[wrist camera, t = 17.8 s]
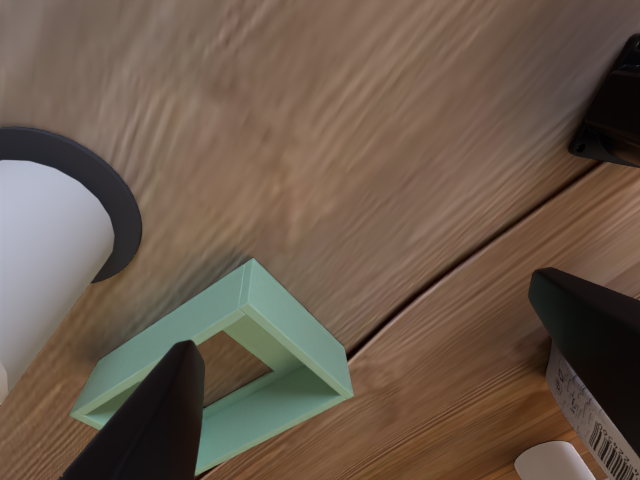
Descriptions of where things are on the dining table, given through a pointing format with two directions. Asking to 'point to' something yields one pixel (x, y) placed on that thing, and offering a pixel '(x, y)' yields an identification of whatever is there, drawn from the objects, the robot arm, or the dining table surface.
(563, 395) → the juice carton
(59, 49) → the dining table surface
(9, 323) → the can
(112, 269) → the coaster
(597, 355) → the robot arm
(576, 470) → the cylindrical container
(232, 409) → the green open box
